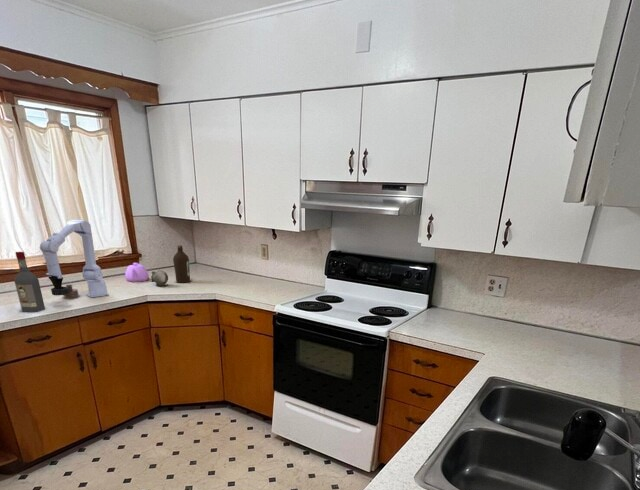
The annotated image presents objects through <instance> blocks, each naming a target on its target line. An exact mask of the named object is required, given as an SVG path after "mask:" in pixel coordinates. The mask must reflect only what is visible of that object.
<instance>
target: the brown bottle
mask: <svg viewBox="0 0 640 490" xmlns="http://www.w3.org/2000/svg"><path fill="white" fill-rule="evenodd" d="M65 287H69V290H70V294H67V295H62V296H63V298H64V299H76V298H77V299H78V298H79V297H80V293H79V289H78V288H73V284H66V285H65Z"/></svg>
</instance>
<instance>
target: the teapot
mask: <svg viewBox="0 0 640 490" xmlns="http://www.w3.org/2000/svg"><path fill="white" fill-rule="evenodd" d="M149 277H150V275H149V272H148V271H147V269H146V267H145V266H144V265H142V264H140V263H138V262H132V264H130V265H128V266H127V268H126V270H125V272H124V279H126V280H127V281H128V282H133V283H137V282H145V281H148V280H149Z"/></svg>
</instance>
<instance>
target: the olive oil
mask: <svg viewBox="0 0 640 490" xmlns="http://www.w3.org/2000/svg"><path fill="white" fill-rule="evenodd" d="M176 247H177V249H176V250H177V251H176V253H175V254H174V255H173V258H172V262H173V267H174V275H175V281H176V283H177V284H187V283H190V282H191V272H190V270H191V269H190V258H189V256H188V255H187V254H186V253H185V252H184V250H183V245H181V244H179V245H177V246H176Z"/></svg>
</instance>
